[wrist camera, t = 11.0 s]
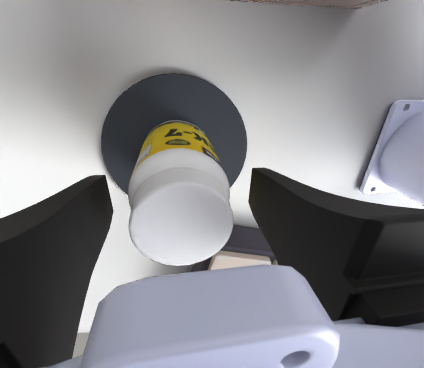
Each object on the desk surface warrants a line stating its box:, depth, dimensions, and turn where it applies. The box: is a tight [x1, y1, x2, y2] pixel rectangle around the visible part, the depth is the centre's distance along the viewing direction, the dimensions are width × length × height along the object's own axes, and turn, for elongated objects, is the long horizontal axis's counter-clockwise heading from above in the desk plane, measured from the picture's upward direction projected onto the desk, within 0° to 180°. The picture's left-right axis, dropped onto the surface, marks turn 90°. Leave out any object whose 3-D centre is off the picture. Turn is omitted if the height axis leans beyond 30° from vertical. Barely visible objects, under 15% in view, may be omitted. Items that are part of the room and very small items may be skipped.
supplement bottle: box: [128, 120, 233, 266], centre depth 12 cm, size 5×5×8 cm
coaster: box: [102, 73, 247, 195], centre depth 16 cm, size 10×10×1 cm
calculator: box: [191, 225, 278, 272], centre depth 22 cm, size 11×4×15 cm
